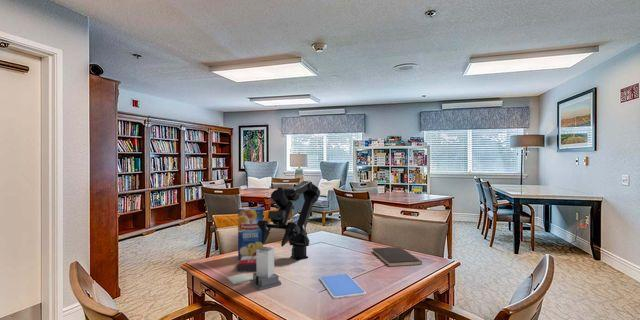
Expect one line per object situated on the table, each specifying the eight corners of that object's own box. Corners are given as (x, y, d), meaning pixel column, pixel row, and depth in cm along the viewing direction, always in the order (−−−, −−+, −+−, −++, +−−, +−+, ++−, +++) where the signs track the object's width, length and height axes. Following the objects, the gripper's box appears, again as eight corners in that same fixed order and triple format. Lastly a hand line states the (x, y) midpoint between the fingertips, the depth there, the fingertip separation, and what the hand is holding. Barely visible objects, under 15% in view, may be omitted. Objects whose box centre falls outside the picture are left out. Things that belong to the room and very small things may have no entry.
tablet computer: (367, 296, 111) (367, 292, 111) (333, 300, 108) (333, 296, 108) (347, 276, 129) (347, 273, 129) (318, 279, 126) (318, 276, 126)
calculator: (241, 256, 146) (273, 253, 146) (242, 265, 146) (274, 262, 146) (236, 263, 135) (271, 261, 135) (236, 273, 135) (271, 271, 135)
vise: (270, 277, 127) (270, 262, 127) (281, 284, 120) (281, 269, 120) (250, 282, 122) (250, 267, 122) (259, 290, 115) (259, 274, 115)
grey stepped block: (263, 271, 124) (262, 246, 124) (274, 273, 123) (274, 247, 123) (253, 278, 117) (253, 251, 117) (265, 280, 116) (264, 253, 116)
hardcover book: (388, 267, 140) (388, 262, 140) (372, 252, 163) (372, 248, 163) (422, 265, 143) (422, 260, 143) (401, 251, 165) (400, 246, 165)
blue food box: (263, 253, 159) (263, 207, 159) (263, 258, 152) (263, 209, 152) (239, 255, 157) (239, 207, 157) (237, 259, 150) (237, 210, 150)
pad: (245, 274, 131) (245, 273, 131) (252, 280, 125) (252, 278, 125) (227, 278, 126) (227, 277, 126) (233, 284, 120) (233, 283, 120)
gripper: (258, 201, 137) (244, 233, 127) (296, 203, 129) (284, 238, 120) (268, 214, 144) (256, 246, 135) (304, 217, 137) (294, 250, 128)
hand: (272, 245), depth 129 cm, fingers open, 9 cm apart
